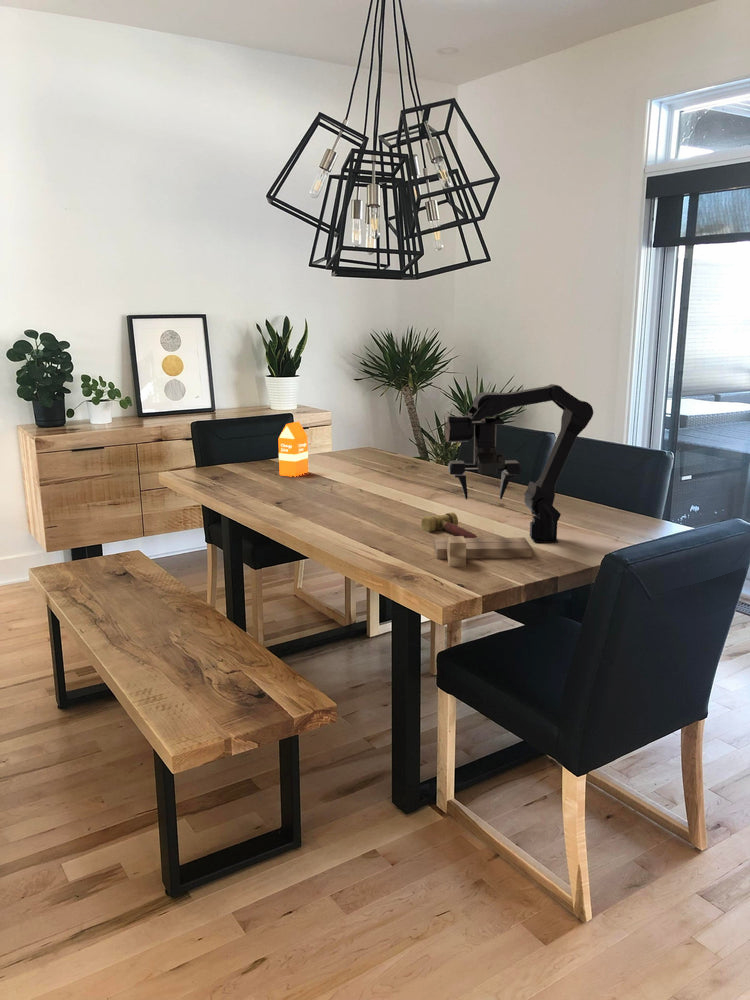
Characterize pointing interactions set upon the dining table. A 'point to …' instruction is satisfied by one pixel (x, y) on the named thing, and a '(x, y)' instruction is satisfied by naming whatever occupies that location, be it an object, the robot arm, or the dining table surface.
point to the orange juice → (293, 450)
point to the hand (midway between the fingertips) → (483, 499)
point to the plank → (488, 547)
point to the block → (456, 551)
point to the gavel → (445, 525)
